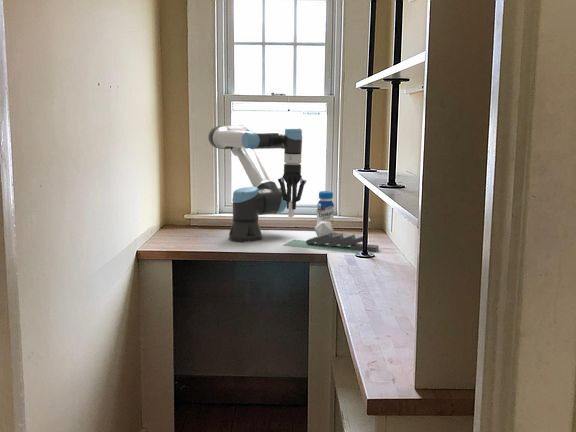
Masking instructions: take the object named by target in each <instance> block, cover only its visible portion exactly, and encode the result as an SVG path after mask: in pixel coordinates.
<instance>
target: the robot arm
mask: <svg viewBox="0 0 576 432" xmlns="http://www.w3.org/2000/svg"><path fill="white" fill-rule="evenodd" d="M207 139H208V142H209V144H210V145H211V147H212V148H213V147H214V148H216V149H217V150H230V151H231V153H232V155H233V156H236V157H237V158H238V160H239V162H240V163H241V165H242V168H243V170H244V172H245V174H246V175H247V177H248V179H249V182H250V183H251V185H252V186H246V187H241V188H238V189H235V190H234V191H233V193H232V223H231V227H230V230H229V234H228V240H229V241H233V242H238V243H246V242H251V243H252V242H257V241H261V240H263V233H262V229H261V226H260V224H259V216H263V215H265V216H266V215H277V214H281V213H284V212H285V210H286V209H287V210H288V214H287V216H288V218H293V217H294V216H295V214H294V213H295V210H296V209H297V202H300V201H301V198H302V195H303V191H304V187H305V185H306V183H307V179H304V178H302V165H301V163H302V152H303V151H302V150H303V149H302V148H303V146H302V145H303V130H302V128H300V127H286V128H285V129H284V131H280V130H273V131H253V130H252V128H251V127H250V126H247V125H242V124H241V125H216V126H214V127H213V128H211V129H210V131H209V132H208V137H207ZM260 149H261V150H263V149H272V150H273V149H282V150H284V152H283V156H284V158H283V162H284V164H283V175H282V177H279V178H277V181H278V184H279V188H278V185H277V184H276V182H275V181H273V180H271V179H270V178H269V175H268V174H267V172H266V170H265V168H264V167H263V165H262V162H261V161H260V158H259V157H258V155H257V154H256V152H255V150H260ZM285 183H286V185H285ZM298 184H299V186H298Z"/></svg>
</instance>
